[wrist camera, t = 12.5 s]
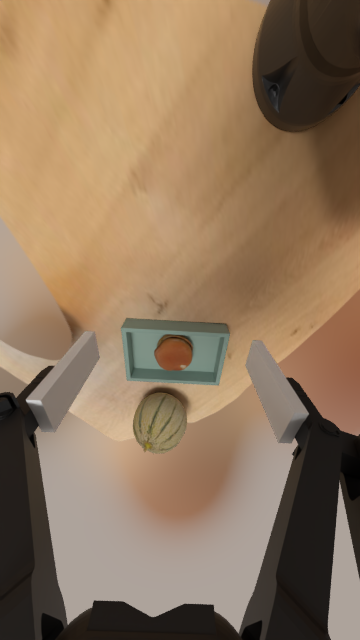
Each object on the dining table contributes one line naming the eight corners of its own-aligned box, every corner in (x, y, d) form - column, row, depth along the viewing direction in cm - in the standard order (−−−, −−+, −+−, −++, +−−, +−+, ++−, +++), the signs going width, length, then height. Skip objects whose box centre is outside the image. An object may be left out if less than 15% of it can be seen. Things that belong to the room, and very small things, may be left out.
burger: (166, 325, 45) (164, 336, 41) (199, 340, 47) (201, 352, 43) (149, 354, 49) (146, 367, 45) (181, 367, 51) (181, 380, 47)
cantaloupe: (192, 407, 60) (195, 461, 47) (151, 417, 63) (143, 470, 50) (175, 376, 54) (173, 427, 41) (130, 388, 56) (114, 440, 43)
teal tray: (126, 318, 45) (121, 327, 41) (225, 323, 45) (229, 333, 41) (131, 368, 52) (126, 380, 48) (216, 372, 53) (218, 385, 49)
